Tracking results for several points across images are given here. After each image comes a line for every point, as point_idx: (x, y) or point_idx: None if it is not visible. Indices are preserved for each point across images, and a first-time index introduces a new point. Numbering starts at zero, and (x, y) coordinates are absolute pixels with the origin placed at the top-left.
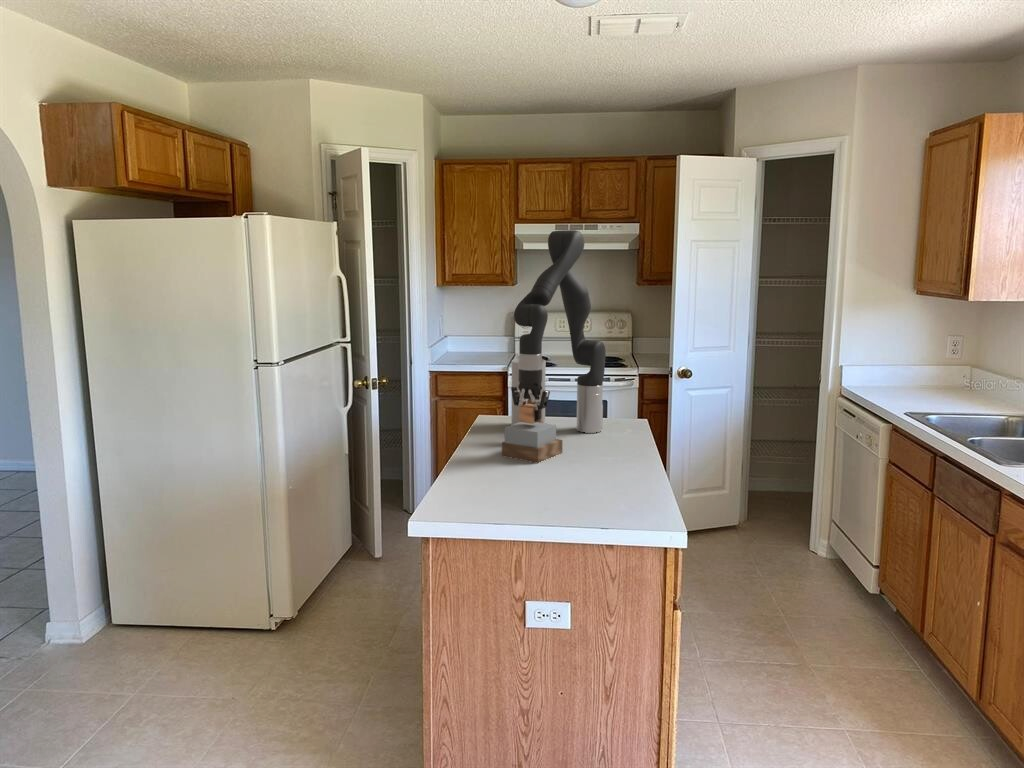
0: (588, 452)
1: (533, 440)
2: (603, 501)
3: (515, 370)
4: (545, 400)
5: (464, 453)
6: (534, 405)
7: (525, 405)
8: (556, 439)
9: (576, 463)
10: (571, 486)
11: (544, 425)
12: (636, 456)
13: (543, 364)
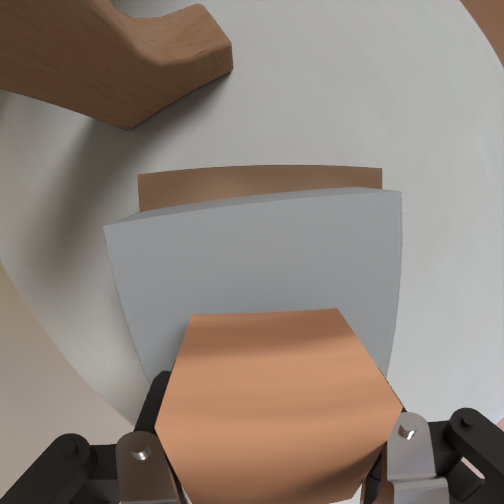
0: (413, 103)
1: None
2: (493, 392)
3: None
4: (497, 481)
5: (87, 377)
6: (368, 499)
7: (212, 486)
8: (353, 177)
9: (441, 256)
10: (457, 392)
11: (344, 266)
12: (499, 93)
13: None
